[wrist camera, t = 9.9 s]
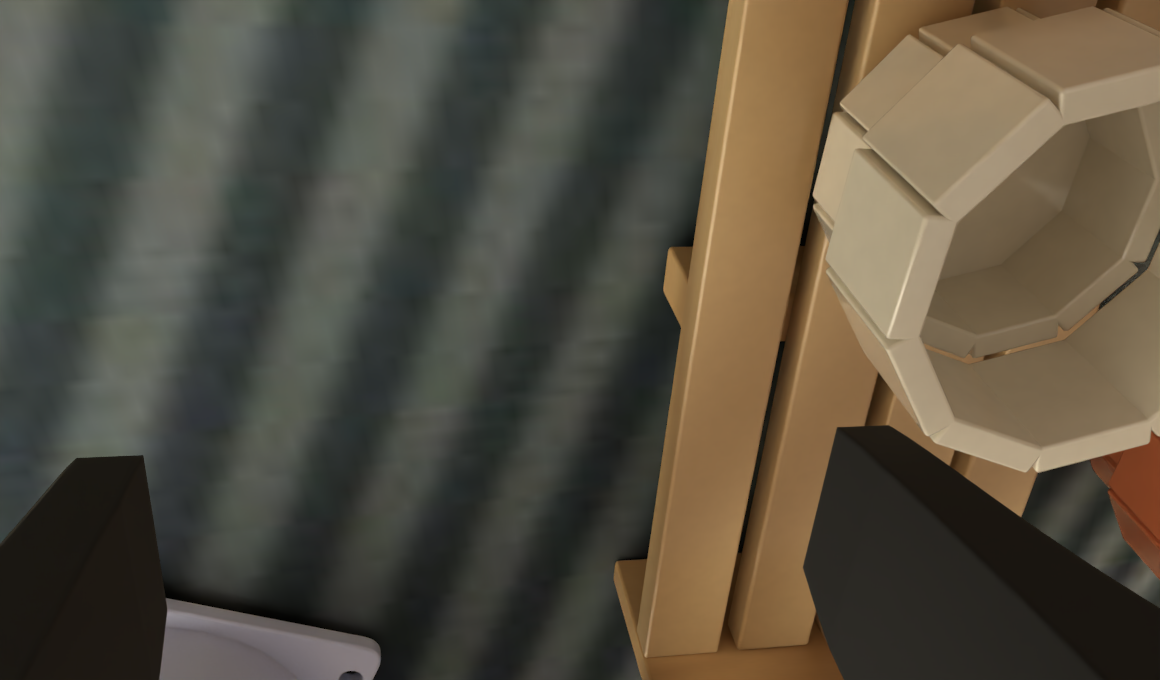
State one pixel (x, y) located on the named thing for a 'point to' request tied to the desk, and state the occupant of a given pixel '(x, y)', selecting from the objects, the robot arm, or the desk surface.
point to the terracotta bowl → (1135, 496)
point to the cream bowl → (1006, 231)
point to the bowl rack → (774, 353)
